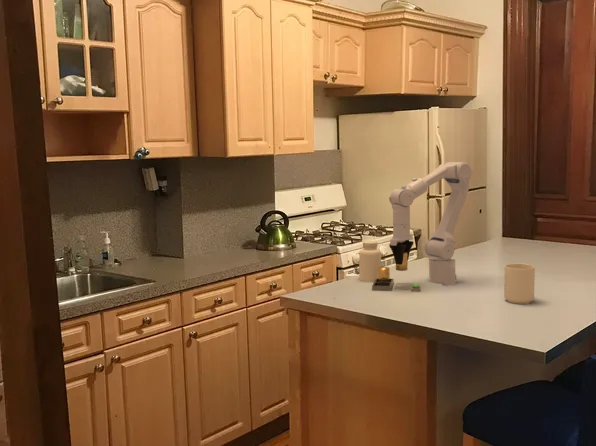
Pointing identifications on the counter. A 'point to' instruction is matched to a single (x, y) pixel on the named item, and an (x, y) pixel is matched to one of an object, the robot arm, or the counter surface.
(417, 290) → the button housing
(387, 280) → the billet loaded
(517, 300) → the mug
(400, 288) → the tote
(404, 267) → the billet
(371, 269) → the pill bottle
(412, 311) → the counter surface
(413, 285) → the button
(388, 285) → the crate
